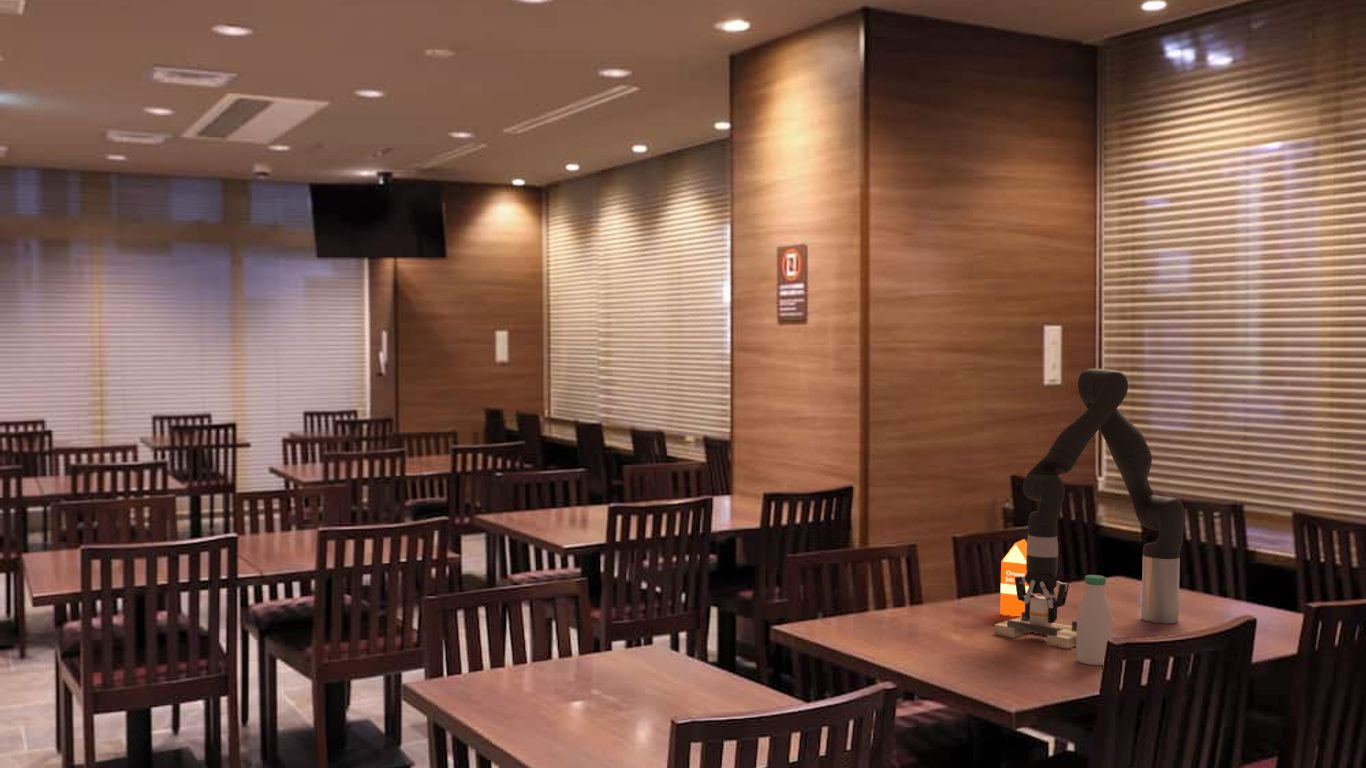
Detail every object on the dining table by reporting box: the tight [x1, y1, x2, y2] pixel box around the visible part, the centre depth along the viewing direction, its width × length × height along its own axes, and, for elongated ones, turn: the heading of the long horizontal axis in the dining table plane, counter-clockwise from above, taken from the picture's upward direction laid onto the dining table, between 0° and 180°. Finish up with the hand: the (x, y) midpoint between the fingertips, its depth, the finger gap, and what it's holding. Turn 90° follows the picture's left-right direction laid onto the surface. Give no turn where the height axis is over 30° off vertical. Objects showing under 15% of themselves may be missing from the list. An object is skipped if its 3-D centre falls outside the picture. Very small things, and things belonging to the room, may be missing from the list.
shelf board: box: [994, 611, 1077, 649], centre depth 305 cm, size 13×20×4 cm, turn 45°
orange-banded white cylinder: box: [1029, 595, 1051, 628], centre depth 303 cm, size 5×5×7 cm
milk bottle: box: [1075, 574, 1113, 666], centre depth 281 cm, size 8×8×20 cm
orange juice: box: [999, 538, 1038, 617], centre depth 331 cm, size 8×9×20 cm
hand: (1040, 620), depth 303 cm, fingers closed on orange-banded white cylinder, 5 cm apart
